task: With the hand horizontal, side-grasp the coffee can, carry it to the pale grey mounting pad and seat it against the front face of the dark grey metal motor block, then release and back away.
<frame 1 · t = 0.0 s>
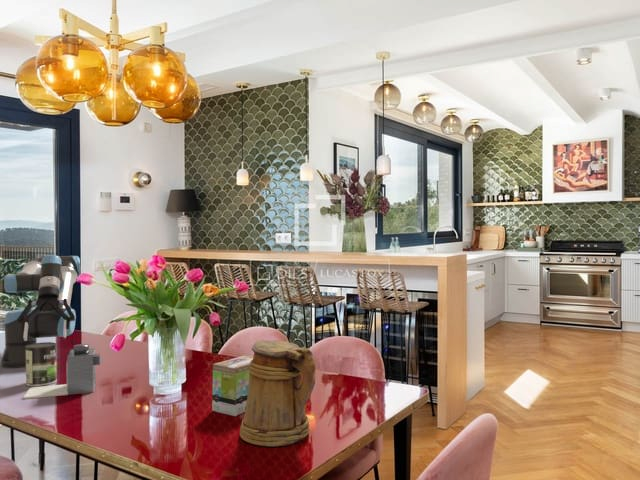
hand: (45, 338, 206), 15 cm above the table, tool tilted 35°, fingers open, 13 cm apart
mount pad: (48, 391, 187), on the table
coffee can: (41, 383, 199), on the table
tea box: (240, 408, 169), on the table
motor block: (82, 388, 191), on the table
tankard: (281, 437, 144), on the table
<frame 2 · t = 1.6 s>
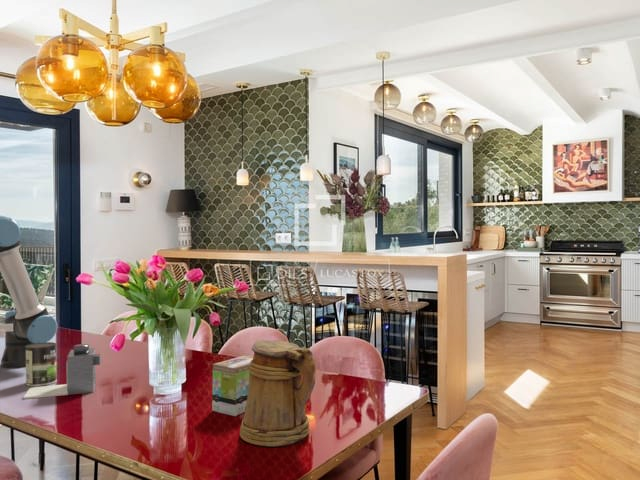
hand: (9, 330, 195), 20 cm above the table, tool horizontal, fingers open, 13 cm apart
nothing on the table moved.
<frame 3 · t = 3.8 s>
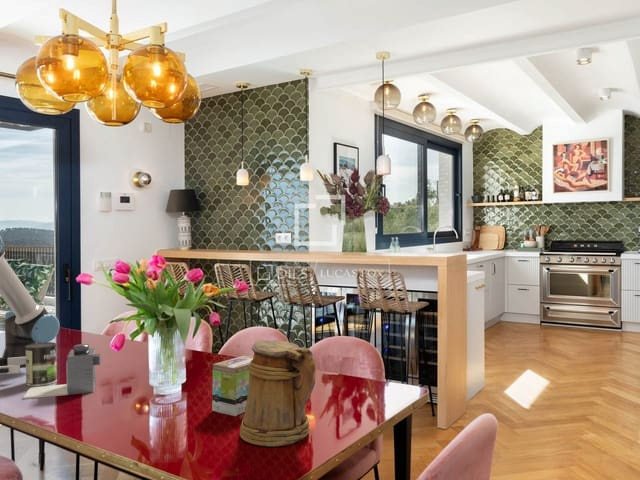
hand: (23, 364, 196), 7 cm above the table, tool horizontal, fingers open, 13 cm apart
nothing on the table moved.
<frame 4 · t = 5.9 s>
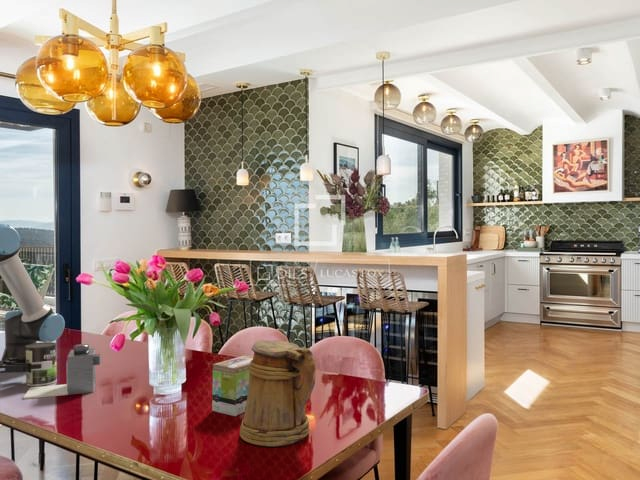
hand: (54, 361, 200), 8 cm above the table, tool horizontal, fingers closed on coffee can, 10 cm apart
coffee can: (41, 383, 199), on the table, touching gripper
everything else where it was.
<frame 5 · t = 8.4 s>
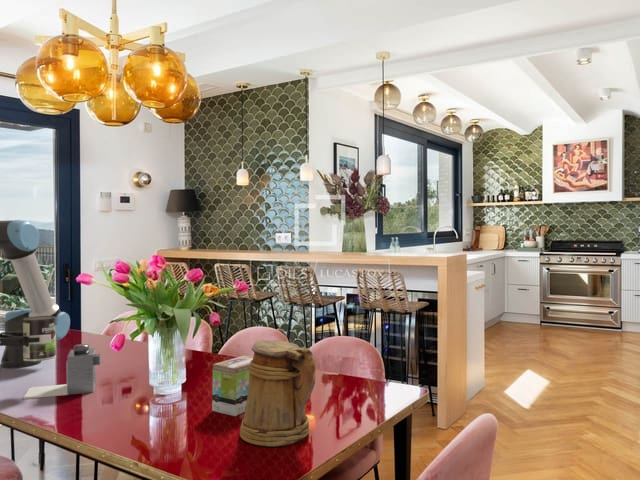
hand: (53, 335, 188), 19 cm above the table, tool horizontal, fingers closed on coffee can, 10 cm apart
coffee can: (39, 358, 187), point 12 cm above the table, touching gripper
everything else where it was.
when the fingers open (9 cm above the table, at t = 10.9 s): coffee can drops 1 cm, resting on mount pad.
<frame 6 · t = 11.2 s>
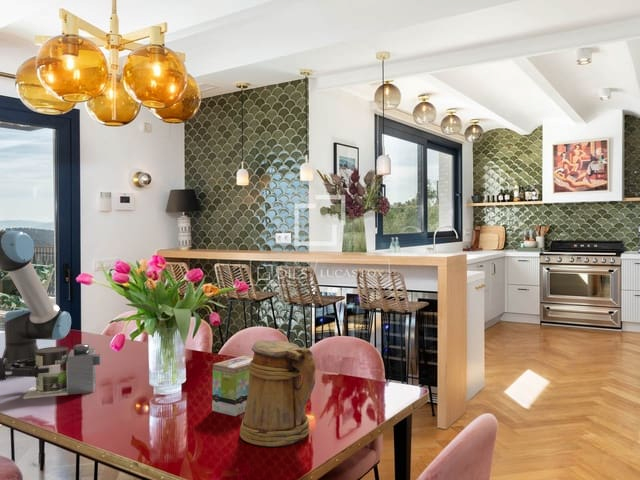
hand: (62, 364, 188), 9 cm above the table, tool horizontal, fingers open, 13 cm apart
coffee can: (52, 390, 188), resting on mount pad
everything else where it was.
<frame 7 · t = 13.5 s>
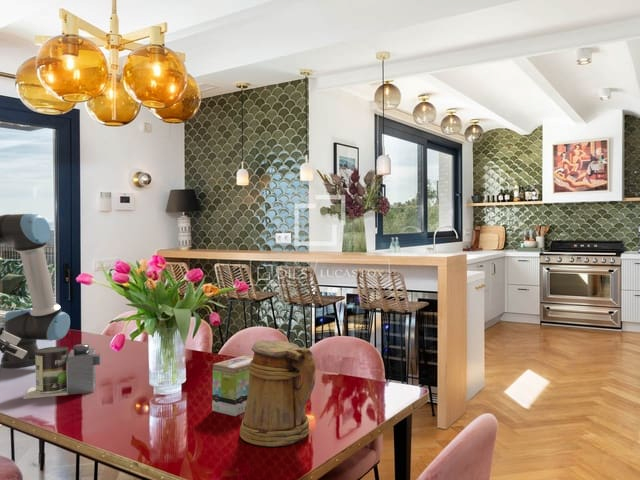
hand: (21, 348, 192), 14 cm above the table, tool tilted 55°, fingers open, 13 cm apart
nothing on the table moved.
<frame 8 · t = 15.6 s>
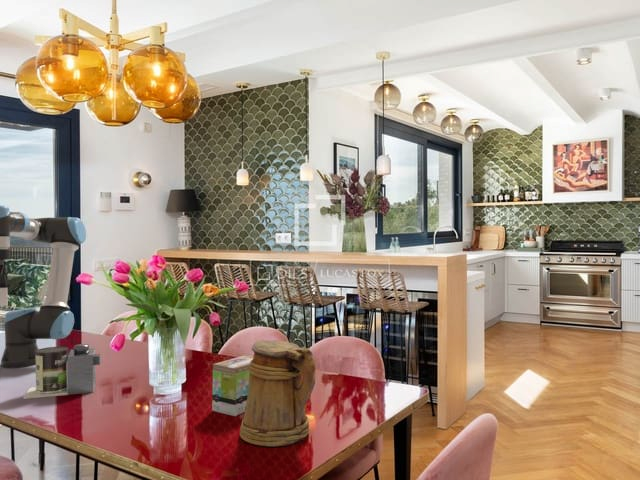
nothing on the table moved.
at the end: coffee can inside the target area on the mount pad (0.2 cm from its centre), point 0.4 cm above the mount pad's base; coffee can tilted 0°; the gripper is holding nothing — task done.
